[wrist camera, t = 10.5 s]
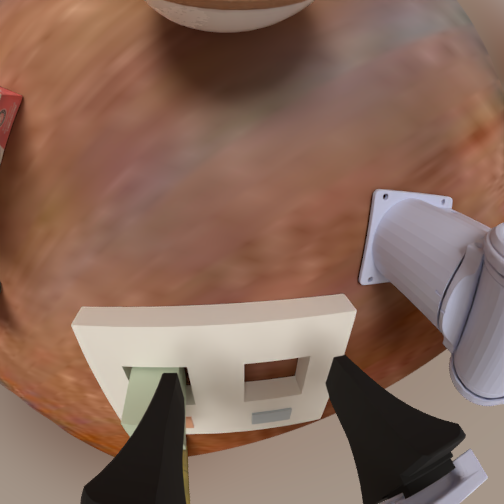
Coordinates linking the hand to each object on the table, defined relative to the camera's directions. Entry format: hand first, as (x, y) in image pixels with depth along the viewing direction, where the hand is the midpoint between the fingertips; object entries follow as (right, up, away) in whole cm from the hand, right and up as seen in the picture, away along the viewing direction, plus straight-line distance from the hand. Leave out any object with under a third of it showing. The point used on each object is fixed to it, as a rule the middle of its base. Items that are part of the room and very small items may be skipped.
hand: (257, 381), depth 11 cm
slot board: (-4, -5, +12) cm, 14 cm away
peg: (-8, -4, +11) cm, 15 cm away
